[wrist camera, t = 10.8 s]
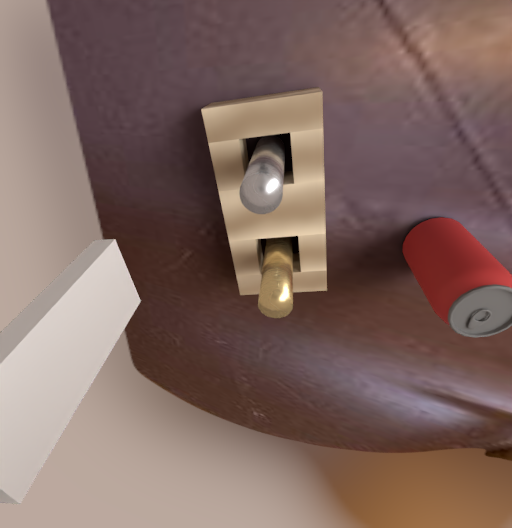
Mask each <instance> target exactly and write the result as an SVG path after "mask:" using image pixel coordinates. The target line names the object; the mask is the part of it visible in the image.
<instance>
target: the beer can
mask: <svg viewBox="0 0 512 528" xmlns="http://www.w3.org/2000/svg"><path fill="white" fill-rule="evenodd" d="M403 255H404V257H405V260H406V261H407V263H408V265H409V267H410V269H411V270H412V272H413V274H414V276H415V278H416V279H417V281H418V283H419V285H420V286H421V288H422V290H423V292H424V294H425V295H426V297H427V299H428V301H429V303H430V304H431V306H432V308H433V310H434V312H435V313H436V314H437V315H438V316H439V317H440V318H441V319H442V320H443V321H444V322H445V323H447V324H448V325H450V327H451V328H452V329H453V330H454V331H455V332H456V333H459V334H461V335H463V336H468V337H487V336H490V335H494V334H498V333H500V332H502V331H504V330H506V329H508V328H509V327H510V326H512V275H511V274H510V273H509V272H508V271H507V270H506V269H505V268H504V267H503V266H502V265H501V264H500V263H499V262H498V261H497V260H496V259H495V258H494V257H493V256H492V255H491V254H490V253H489V252H488V251H487V250H486V249H485V248H484V247H483V246H482V245H481V244H480V243H479V242H478V241H477V240H476V239H475V238H474V237H473V236H472V235H471V234H470V233H469V232H468V231H467V230H466V229H465V228H464V227H463V226H462V225H461V224H460V223H459V222H457V221H455V220H453V219H450V218H443V217H440V218H433V219H429V220H426V221H424V222H421V223H420V224H418V225H417V226H416V227H414V228H413V229H412V230H411V231H410V232H409V234H408V235H407V236H406V238H405V241H404V243H403Z"/></svg>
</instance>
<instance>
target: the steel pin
mask: <svg viewBox="0 0 512 528" xmlns="http://www.w3.org/2000/svg"><path fill="white" fill-rule="evenodd" d="M284 162H285V146H284V143H283V141H282V140H281V139H280V138H279V137H277V136H275V135H267V136H264V137H262V138H261V139H260V140H259V141H258V142H257V144H256V147H255V150H254V152H253V155H252V157H251V160H250V163H249V165H248V168H247V171H246V173H245V176H244V179H243V181H242V184H241V187H240V191H239V195H240V200H241V202H242V204H243V205H244V207H245V208H246V209H248V210H249V211H251V212H253V213H256V214H267V213H270V212H272V211H274V210H275V209H276V208H277V207H278V206H279V205H280V203H281V201H282V196H283V179H284Z"/></svg>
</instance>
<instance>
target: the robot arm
mask: <svg viewBox="0 0 512 528" xmlns="http://www.w3.org/2000/svg"><path fill="white" fill-rule="evenodd" d="M139 303H140V298H139V296H138V293H137V291H136V289H135V286H134V284H133V281H132V279H131V276H130V274H129V272H128V269H127V267H126V264H125V262H124V260H123V257H122V255H121V252H120V250H119V248H118V245H117V243H116V240H115V239H109V240H94V241H93V242H92V243H91V244H90V245H89V246H88V247H87V248H86V249H85V250H84V251H83V252H82V253H81V254H80V255H79V256H78V257H77V258H76V259H75V260H74V261H73V262H72V263H71V264H70V265H69V266H68V267H67V268H66V269H65V270H64V271H63V272H62V273H61V274H60V275H59V276H57V277H56V279H54V280H53V281H52V282H51V283H50V284H49V286H47V287H46V288H45V289H44V290H43V291H42V292H41V293H40V294H39V295H38V296H37V297H36V298H35V299H34V300H33V301H32V302H31V303H30V304H29V305H28V306H27V307H26V308H25V309H24V310H23V311H22V312H21V313H20V314H19V315H18V316H17V317H16V318H15V319H14V320H13V321H12V322H11V323H10V324H9V325H8V326H7V327H6V328H5V329H3V330H2V331H1V332H0V503H12V504H13V503H14V504H20V503H21V502H22V500H23V498H24V497H25V495H26V493H27V492H28V490H29V488H30V487H31V485H32V483H33V481H34V480H35V478H36V477H37V475H38V473H39V471H40V470H41V468H42V466H43V465H44V463H45V461H46V459H47V458H48V456H49V455H50V453H51V451H52V450H53V448H54V446H55V444H56V443H57V441H58V439H59V437H60V436H61V434H62V433H63V431H64V429H65V427H66V426H67V424H68V423H69V421H70V419H71V418H72V416H73V414H74V412H75V411H76V409H77V407H78V405H79V404H80V402H81V401H82V399H83V397H84V396H85V394H86V392H87V391H88V389H89V387H90V386H91V384H92V382H93V381H94V379H95V377H96V375H97V374H98V372H99V370H100V369H101V367H102V365H103V364H104V362H105V360H106V359H107V357H108V355H109V353H110V352H111V350H112V349H113V347H114V345H115V344H116V342H117V340H118V338H119V337H120V335H121V333H122V332H123V330H124V328H125V327H126V325H127V323H128V322H129V320H130V318H131V317H132V315H133V313H134V312H135V310H136V308H137V307H138V305H139Z"/></svg>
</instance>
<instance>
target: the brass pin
mask: <svg viewBox="0 0 512 528" xmlns="http://www.w3.org/2000/svg"><path fill="white" fill-rule="evenodd" d="M258 307H259V309H260V311H261V312H262V313H263V314H264V315H266V316H268V317H271V318H281V317H284V316H286V315H288V314H289V313H290V312H291V311H292V308H293V254H292V236H290V237H278V238H267V239H266V247H265V254H264V262H263V270H262V277H261V285H260V292H259V300H258Z"/></svg>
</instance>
